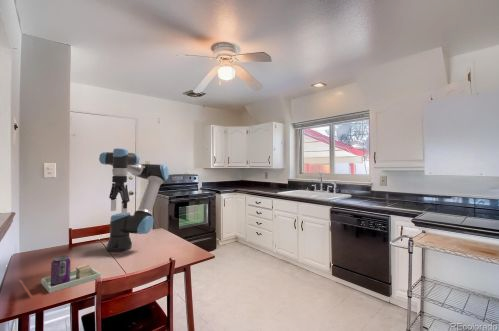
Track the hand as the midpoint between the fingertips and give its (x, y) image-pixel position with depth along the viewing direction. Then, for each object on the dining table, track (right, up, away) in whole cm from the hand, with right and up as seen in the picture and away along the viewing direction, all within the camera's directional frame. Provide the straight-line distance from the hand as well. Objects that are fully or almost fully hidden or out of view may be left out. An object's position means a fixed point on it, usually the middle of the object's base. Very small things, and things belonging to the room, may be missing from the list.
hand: (118, 212), depth 146 cm
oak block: (-6, -28, -22) cm, 36 cm away
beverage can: (-12, -28, -29) cm, 42 cm away
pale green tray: (-9, -28, -25) cm, 39 cm away
